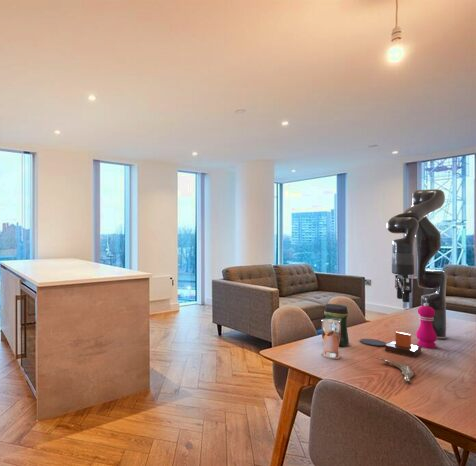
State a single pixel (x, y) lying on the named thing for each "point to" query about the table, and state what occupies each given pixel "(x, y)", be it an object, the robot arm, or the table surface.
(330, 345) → the beer glass
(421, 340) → the pepper mill
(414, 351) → the holder
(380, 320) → the table surface
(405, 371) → the jawbone
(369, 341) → the coaster
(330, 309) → the coffee jar
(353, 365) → the table surface
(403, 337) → the orange rectangular block
